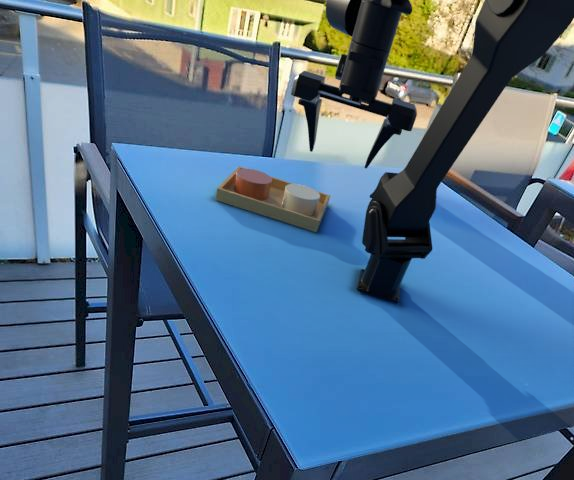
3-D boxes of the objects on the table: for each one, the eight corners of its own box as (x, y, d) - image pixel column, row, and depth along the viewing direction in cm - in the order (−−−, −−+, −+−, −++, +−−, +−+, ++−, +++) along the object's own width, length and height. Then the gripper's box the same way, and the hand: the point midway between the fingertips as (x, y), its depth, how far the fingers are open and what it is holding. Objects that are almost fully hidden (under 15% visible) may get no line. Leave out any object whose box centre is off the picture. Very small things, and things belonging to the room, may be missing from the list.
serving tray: (316, 232, 83) (319, 221, 82) (215, 200, 84) (217, 188, 82) (327, 205, 93) (330, 195, 92) (236, 177, 93) (238, 166, 92)
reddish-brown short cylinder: (264, 204, 86) (267, 187, 84) (229, 192, 86) (232, 175, 84) (272, 192, 90) (275, 176, 88) (239, 181, 90) (242, 165, 89)
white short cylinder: (312, 219, 86) (317, 203, 84) (278, 208, 86) (281, 191, 84) (318, 207, 90) (322, 191, 88) (285, 196, 90) (289, 180, 88)
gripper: (431, 59, 75) (394, 162, 85) (315, 23, 75) (292, 131, 85) (434, 67, 66) (393, 182, 77) (303, 27, 67) (279, 147, 77)
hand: (338, 159), depth 79 cm, fingers open, 9 cm apart
